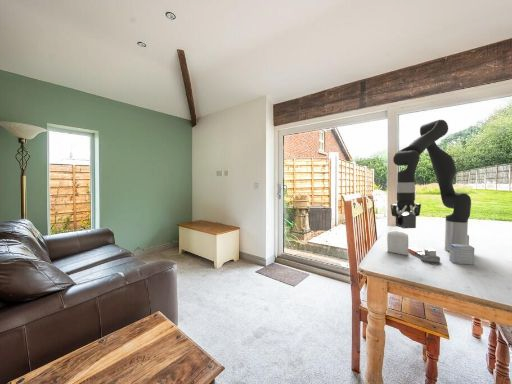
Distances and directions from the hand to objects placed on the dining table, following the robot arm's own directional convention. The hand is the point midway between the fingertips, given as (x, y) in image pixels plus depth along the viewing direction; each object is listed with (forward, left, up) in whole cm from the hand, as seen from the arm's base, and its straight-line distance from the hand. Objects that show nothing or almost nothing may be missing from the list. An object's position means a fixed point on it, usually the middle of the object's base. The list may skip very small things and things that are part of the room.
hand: (405, 224), depth 108 cm
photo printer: (-5, -13, -20) cm, 24 cm away
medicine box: (-26, +3, -20) cm, 33 cm away
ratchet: (-13, -5, -19) cm, 24 cm away
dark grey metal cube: (0, 0, -1) cm, 1 cm away
